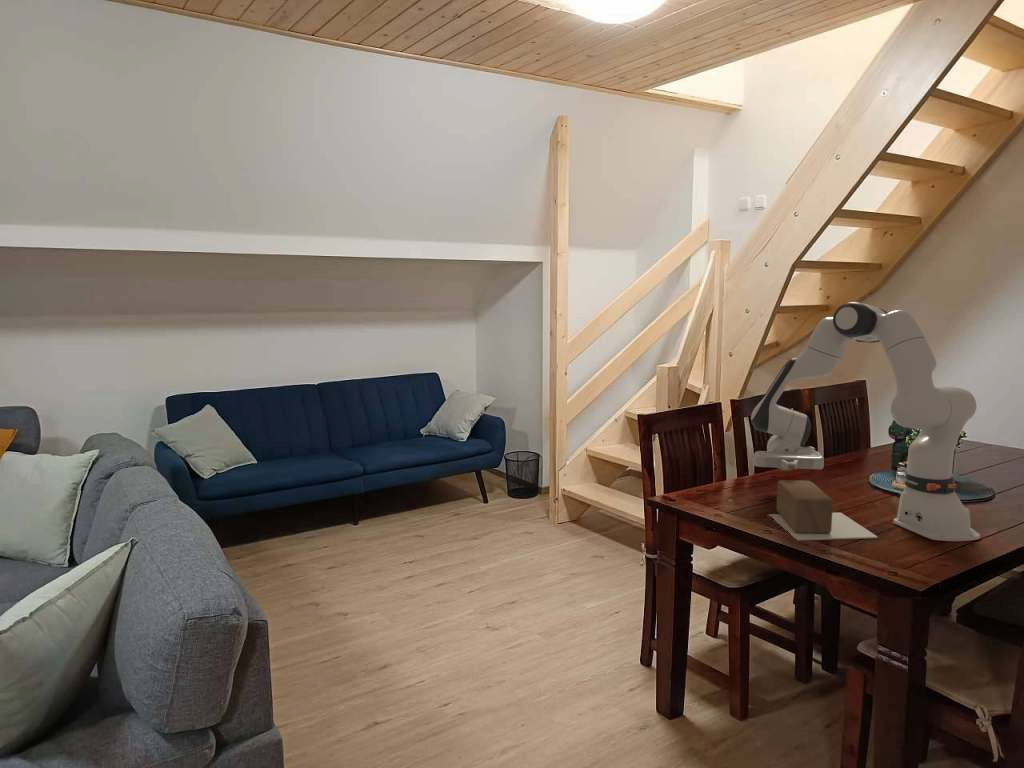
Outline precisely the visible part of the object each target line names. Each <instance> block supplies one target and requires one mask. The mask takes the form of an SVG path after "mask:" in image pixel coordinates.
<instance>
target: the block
mask: <svg viewBox="0 0 1024 768" xmlns="http://www.w3.org/2000/svg"><path fill="white" fill-rule="evenodd" d="M776 486H777V487H776V492H777V493H776V511H777V514H780V515H781V516H782V517H783V519H784V520H785V521H786V522H787V523H788V524H789V526H790V527H791V528H792V529H793V530H794V531H795V532H796V533H830V532H831V527H832V513H833V504H834V503H833V502H834V501H833V499H832V498H831V497H830V496H829V495H828V494H826V493H825V492H824V491H823V490H822V489H820V487H818V486H817V485H816V484H815V483H814V482H813V481H811V480H807V479H806V480H804V479H803V480H800V479H798V480H797V479H795V480H793V479H788V480H787V479H786V480H785V479H783V480H782V479H780V480H778V482H777V483H776Z"/></svg>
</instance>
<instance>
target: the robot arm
mask: <svg viewBox="0 0 1024 768" xmlns="http://www.w3.org/2000/svg"><path fill="white" fill-rule="evenodd" d="M855 341H856V342H857V343H868V344H869V343H873V344H874V343H880V344H881V345H882V348H883V350H884V352H885V355H886V357H887V359H888V362H889V364H890V366H891V369H892V371H893V374H894V377H895V378H894V379H895V384H896V391H895V392H896V393H895V396H894V398H893V400H892V401H891V404H890V414H891V417H892V419H893V420H894V421H895V422H896V423H897V424H898V425H900V426H902V427H907V428H914V429H921V431H920V433H919V435H918V436H917V438H916V439H915V440H914V441H913V442H912V443H911V444H910V446H909V451H908V456H907V468H906V469H907V471H906V472H905V473H904V475H905V476H904V486H905V488H904V490H903V491H902V493H901V494H900V495H899V496H900V497H899V502H898V508H897V514H896V517H894V518H893V520H892V523H893V524H895V525H897V526H899V527H902V528H904V529H906V530H908V531H910V532H914V533H916V534H918V535H920V536H922V537H925V538H926V539H930V540H933V541H943V542H969V541H976V540H979V539H981V534H980V533H979V532H977V531H976V530H974V528H972V527H971V511H970V509H969V508H966V507H965V505H964V504H963V503H962V500H960V498H959V497H958V495H957V493H956V489H957V488H958V487H957V486H958V484H957V483H955V480H954V477H953V466H954V465H953V464H954V457H955V455H954V453H955V449H956V446H957V443H958V440H959V438H960V436H961V434H962V431H963V429H964V428H965V426H966V424H967V423H968V422H969V421H970V420H971V419H972V418H973V417H974V415H975V414H976V411H977V401H976V399H975V397H974V395H973V393H971V392H970V391H968V390H967V389H964V388H959V387H955V386H942V387H936V386H935V385H934V382H933V372H934V370H935V369H936V367H937V359H936V357H935V355H934V353H933V351H932V348H931V347H930V344H929V343H928V340H927V337H926V336H925V334H924V332H923V330H922V329H921V327H920V325H919V323H917V321H916V320H915V318H914V317H913V316H912V315H911V313H910V312H908V311H906V310H904V309H903V310H901V309H897V310H892V311H889V312H887V311H886V310H884V309H882V308H878V307H876V306H874V305H871V304H867V303H861V302H858V301H852V302H846V303H843V304H841V305H840V306H839V307H837V309H836V310H835V312H834V313H833V315H832V316H827V317H824V318H822V319H821V320H820V321H819V322H818V323H817V325H816V327H815V329H814V330H813V332H812V333H811V335H810V337H809V339H808V342H807V343H806V346H805V348H804V349H803V351H802V352H801V353H800V354H799V355H798V356H796V357H792V358H791V357H790V359H788V360H787V361H786V363H785V364H784V365H783V366H782V368H781V370H780V371H779V373H778V374H777V375H776V377H775V378H774V380H773V381H772V383H771V384H770V386H769V388H768V389H767V391H766V392H765V394H764V395H763V397H762V398H761V399H760V401H759V402H758V404H757V405H755V407H754V409H753V410H752V412H751V416H750V422H751V424H752V426H753V428H754V429H755V430H756V431H759V432H763V433H768V434H771V435H772V436H770V437H769V439H768V441H767V443H766V444H767V446H766V450H758V451H755V452H754V453H752V454H751V458H752V460H753V461H754V462H753V464H754V467H758V468H777V469H778V470H781V471H790V470H797V469H803V470H804V469H805V470H809V469H810V470H822V469H824V467H825V466H824V464H825V463H824V462H825V459H824V456H823V455H822V454H821V453H820V452H818V451H816V448H815V447H813V446H809V445H806V443H807V441H808V439H809V437H810V435H811V431H812V424H811V421H810V417H809V416H808V415H807V414H805V413H802V412H799V411H797V410H794V409H790V408H787V407H784V406H782V405H779V404H777V402H778V400H779V398H780V397H781V396H782V394H783V393H784V391H785V389H787V387H788V385H789V384H791V383H793V382H794V381H796V380H803V379H804V380H805V379H806V380H807V379H809V380H810V379H821V378H825V377H828V376H830V375H831V374H833V373H834V372H835V371H836V369H837V368H838V366H839V364H840V362H841V360H842V357H843V355H844V353H845V350H846V349H847V347H848V345H849V344H850V343H851V342H855ZM914 429H913V430H914Z"/></svg>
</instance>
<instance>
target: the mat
mask: <svg viewBox="0 0 1024 768" xmlns="http://www.w3.org/2000/svg"><path fill="white" fill-rule="evenodd" d="M768 515H769V516H773V517H772V518H773V519H774V520H775V521H776V522H777V523H778V524H780V525H781V526H782V527H783V528H784V529H785V531H786V530H787V531H788V532H789V533H790V534H791V536H792V538H794V539H795V540H796V539H797V540H796V541H820V540H821V541H822V540H823V541H824V540H825V541H826V540H857V539H858V540H860V539H862V540H863V539H878V537H879V536H877V535H876V534H874V533H873V532H871V531H870V530H868V529H867V528H865V527H863V526H862V525H860V524H859V523H857V522H856V521H855V520H853V519H852V518H850V517H848V516H847V515H845V514H844V513H842V512H832V527H831V532H830V533H796V532H795V531H794V530H793V529H792V528H791V527H790V526H789V524H788V523H787V522H786V521H785V520H784V519H783V517H782V516H781V515H780V514H779V513H771V514H767V516H768ZM769 516H768V517H769ZM774 520H773V521H774ZM775 521H774V522H775ZM776 522H775V523H776ZM777 523H776V524H777ZM780 525H779V526H780ZM781 526H780V527H781ZM782 527H781V528H782ZM783 528H782V529H783ZM784 529H783V530H784ZM787 531H786V532H787ZM788 532H787V533H788ZM789 533H788V534H789ZM790 534H789V535H790Z"/></svg>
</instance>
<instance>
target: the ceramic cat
mask: <svg viewBox="0 0 1024 768" xmlns="http://www.w3.org/2000/svg"><path fill="white" fill-rule="evenodd" d="M912 429H913V428H907V427H902V426H900V425H898V424H897V423H896V422H895V421H894V419H893V420H892V422H891V424H890V426H889V427H888V431H887V433H888V436H889V438H890V439H893V440H894V442H893V444H892V453H891V454H890V455H891V467H890V468H891V469H896V468H897V465H898V463H899V462H904V461H905V462H906V459H908V447H907V444H906V442H905V441H906V436H907V435H909V434H912V433H913V431H912ZM913 430H914V429H913Z"/></svg>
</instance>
